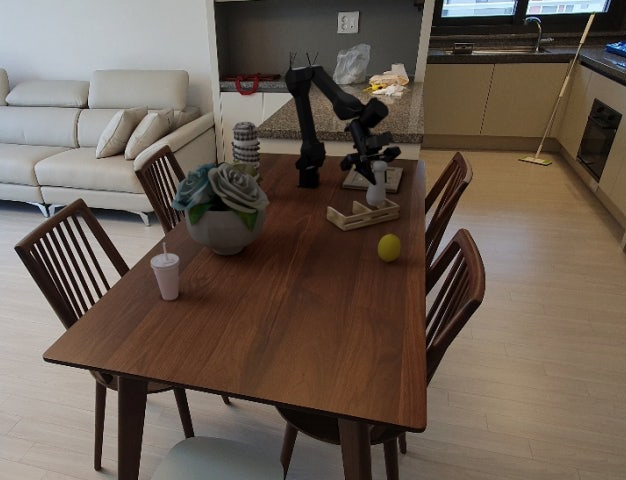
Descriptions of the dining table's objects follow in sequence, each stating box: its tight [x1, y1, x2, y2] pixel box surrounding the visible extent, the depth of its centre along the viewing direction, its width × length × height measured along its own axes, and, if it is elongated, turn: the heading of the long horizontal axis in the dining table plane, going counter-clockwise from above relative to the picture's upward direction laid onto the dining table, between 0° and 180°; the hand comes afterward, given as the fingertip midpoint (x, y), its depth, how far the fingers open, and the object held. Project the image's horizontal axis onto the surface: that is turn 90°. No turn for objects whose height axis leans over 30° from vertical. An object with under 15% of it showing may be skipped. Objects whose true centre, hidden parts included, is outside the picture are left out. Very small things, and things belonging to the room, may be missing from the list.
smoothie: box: [150, 242, 181, 301], centre depth 104 cm, size 6×6×14 cm
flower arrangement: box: [170, 160, 271, 256], centre depth 120 cm, size 25×25×24 cm
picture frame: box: [342, 164, 404, 194], centre depth 169 cm, size 19×2×24 cm
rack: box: [326, 197, 401, 232], centre depth 140 cm, size 10×20×4 cm, turn 114°
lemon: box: [377, 233, 402, 263], centre depth 116 cm, size 6×6×8 cm
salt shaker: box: [365, 160, 388, 207], centre depth 138 cm, size 6×6×13 cm
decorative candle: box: [230, 121, 261, 189], centre depth 150 cm, size 9×9×25 cm
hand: (380, 183), depth 136 cm, fingers closed on salt shaker, 3 cm apart
